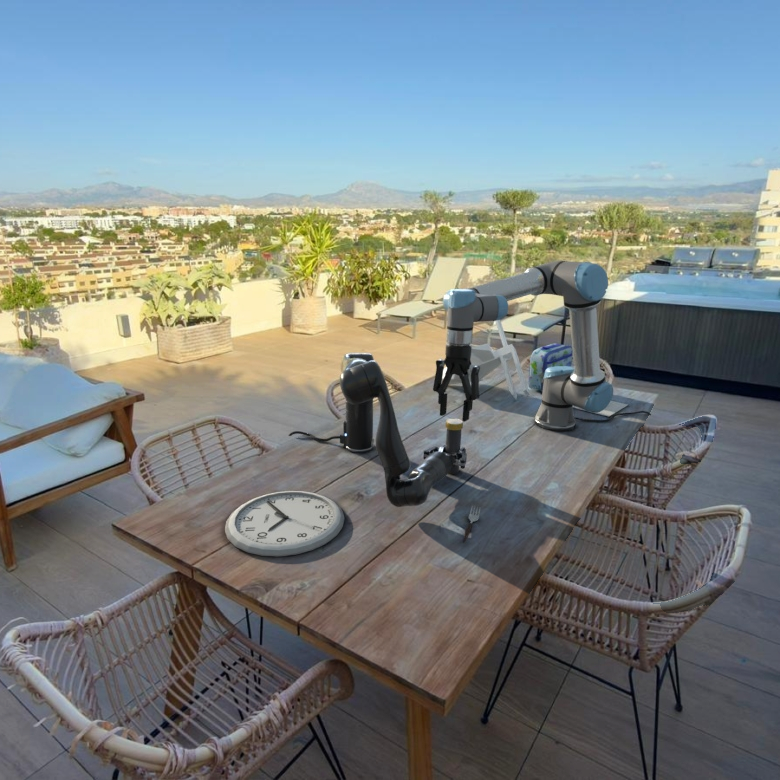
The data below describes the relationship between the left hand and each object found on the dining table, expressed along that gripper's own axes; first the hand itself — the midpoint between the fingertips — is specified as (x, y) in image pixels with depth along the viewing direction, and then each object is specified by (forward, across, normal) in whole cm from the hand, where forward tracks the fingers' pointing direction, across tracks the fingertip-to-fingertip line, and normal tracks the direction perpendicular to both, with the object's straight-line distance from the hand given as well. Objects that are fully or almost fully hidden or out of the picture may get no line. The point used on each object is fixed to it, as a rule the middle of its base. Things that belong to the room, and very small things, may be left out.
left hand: (456, 448), depth 165 cm
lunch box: (+105, -5, +7) cm, 105 cm away
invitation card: (+89, -32, +7) cm, 94 cm away
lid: (-3, 0, -10) cm, 10 cm away
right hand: (-3, 0, -11) cm, 12 cm away
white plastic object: (+80, +21, +7) cm, 83 cm away
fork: (-31, -17, +7) cm, 36 cm away
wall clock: (-52, +25, +7) cm, 59 cm away
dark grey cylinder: (-3, 0, +7) cm, 7 cm away
